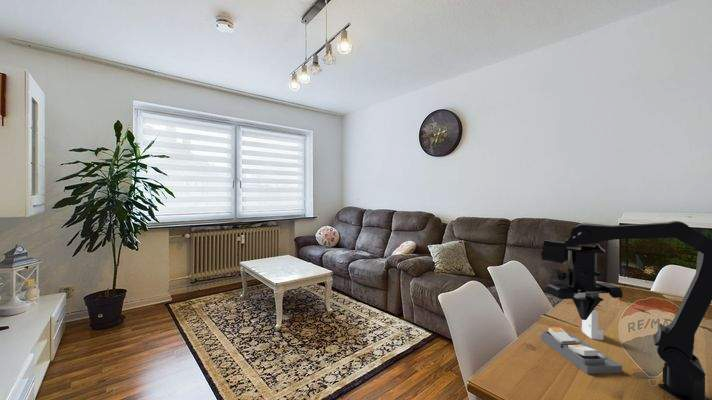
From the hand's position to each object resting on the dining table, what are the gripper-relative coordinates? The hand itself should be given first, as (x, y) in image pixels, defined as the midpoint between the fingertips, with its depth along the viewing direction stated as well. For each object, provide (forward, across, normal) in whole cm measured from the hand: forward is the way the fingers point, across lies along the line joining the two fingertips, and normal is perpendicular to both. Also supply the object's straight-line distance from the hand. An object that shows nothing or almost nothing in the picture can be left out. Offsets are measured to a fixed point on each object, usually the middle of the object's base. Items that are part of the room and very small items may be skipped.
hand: (583, 319), depth 85 cm
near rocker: (+10, 0, 0) cm, 10 cm away
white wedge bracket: (+13, -17, -16) cm, 27 cm away
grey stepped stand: (+13, -2, -4) cm, 14 cm away
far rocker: (+10, 0, -9) cm, 13 cm away
